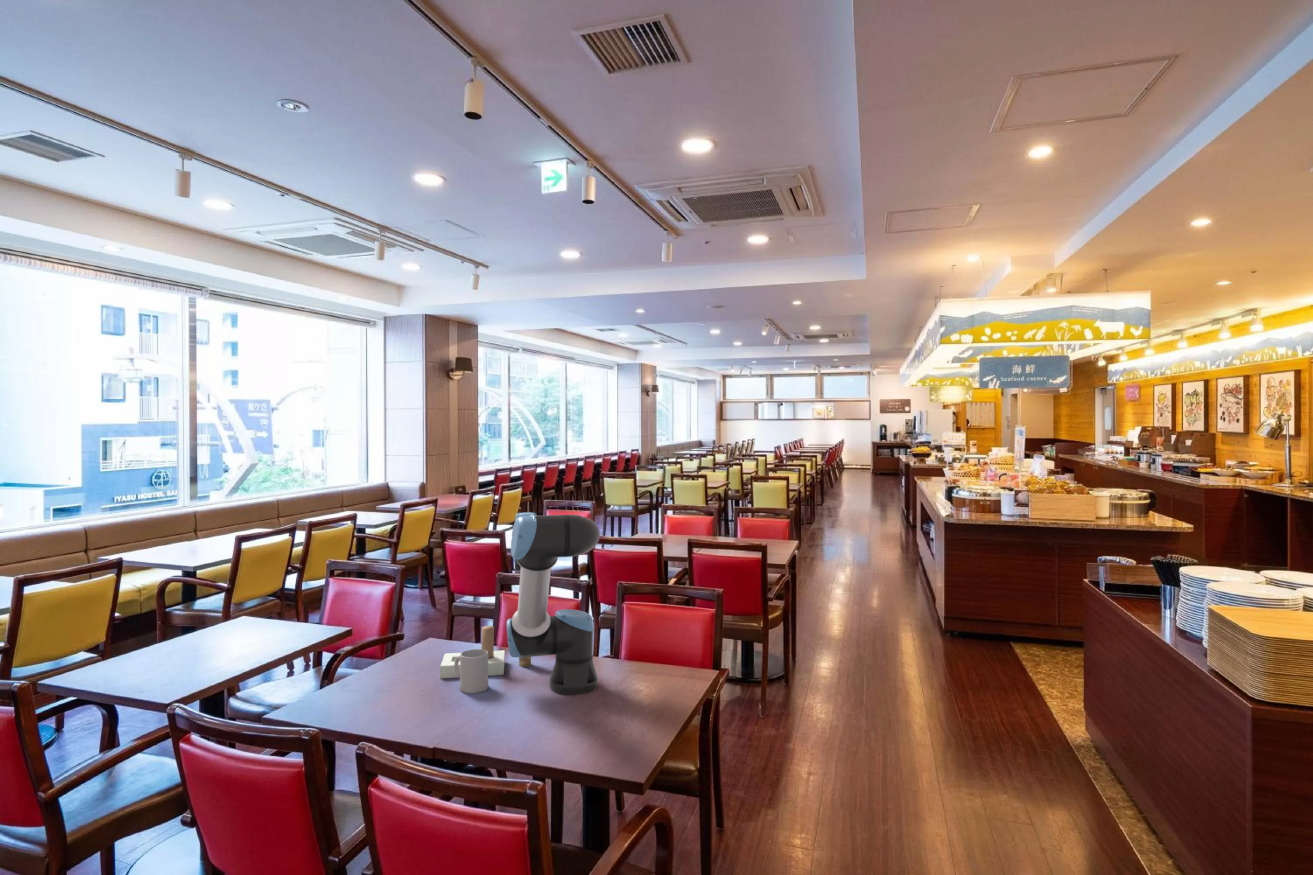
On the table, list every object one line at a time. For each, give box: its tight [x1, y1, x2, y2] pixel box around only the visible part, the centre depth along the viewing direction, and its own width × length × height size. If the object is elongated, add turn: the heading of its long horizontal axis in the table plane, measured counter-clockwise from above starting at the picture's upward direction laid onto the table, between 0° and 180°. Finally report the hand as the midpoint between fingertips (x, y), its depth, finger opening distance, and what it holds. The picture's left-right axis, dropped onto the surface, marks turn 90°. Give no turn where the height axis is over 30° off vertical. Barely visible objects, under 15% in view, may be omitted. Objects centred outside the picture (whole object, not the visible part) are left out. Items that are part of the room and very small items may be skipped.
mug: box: [454, 648, 489, 694], centre depth 207 cm, size 12×8×11 cm
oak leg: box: [518, 657, 532, 668], centre depth 229 cm, size 4×4×14 cm
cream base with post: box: [439, 625, 506, 679], centre depth 224 cm, size 20×13×14 cm, turn 101°
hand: (525, 619), depth 229 cm, fingers open, 13 cm apart
